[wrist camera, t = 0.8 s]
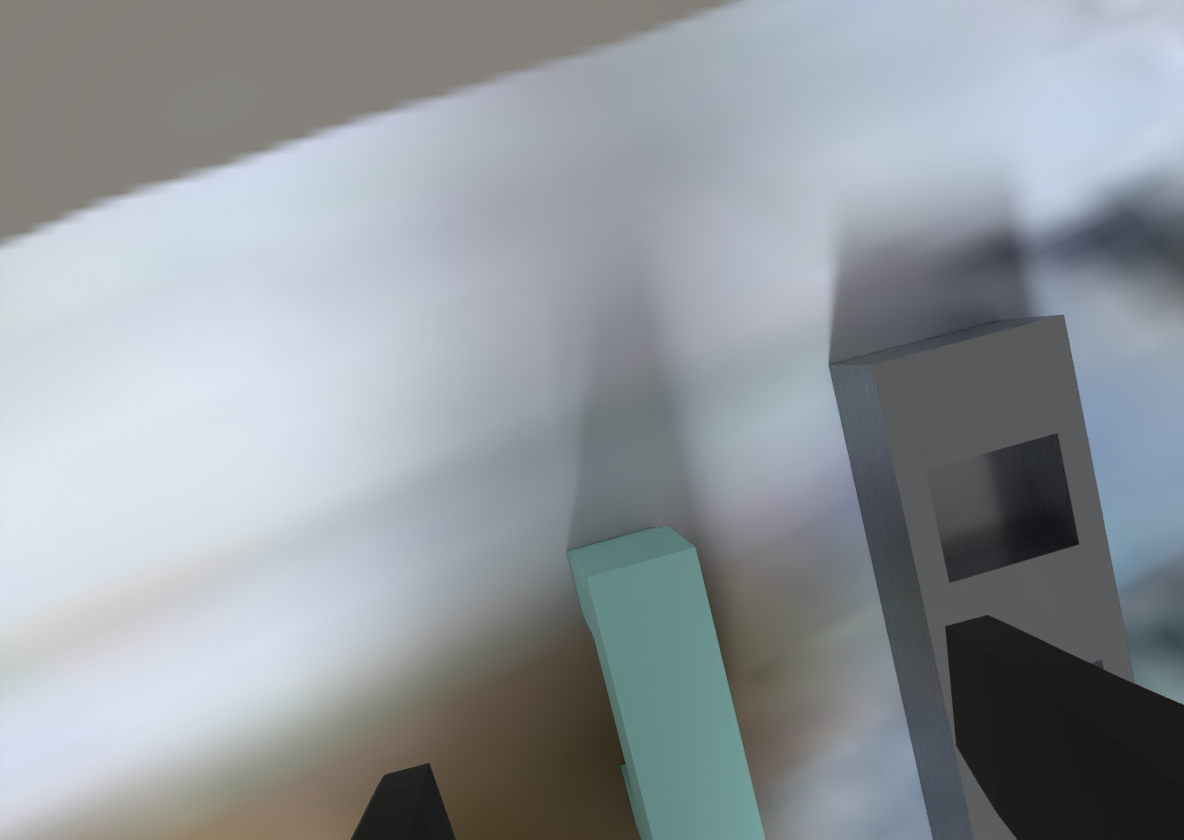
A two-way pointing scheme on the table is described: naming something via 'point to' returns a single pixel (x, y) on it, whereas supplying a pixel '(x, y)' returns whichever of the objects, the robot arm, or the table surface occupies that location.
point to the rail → (977, 522)
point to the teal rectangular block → (666, 687)
